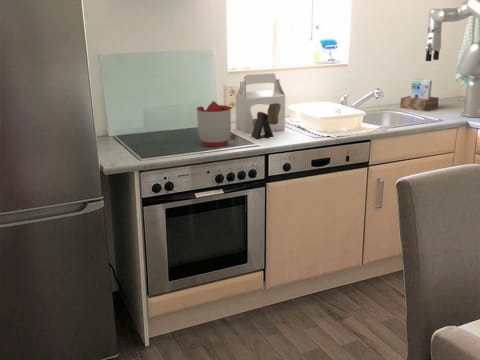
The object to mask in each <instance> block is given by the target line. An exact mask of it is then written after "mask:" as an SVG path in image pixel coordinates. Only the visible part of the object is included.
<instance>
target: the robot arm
mask: <svg viewBox="0 0 480 360" xmlns="http://www.w3.org/2000/svg"><path fill="white" fill-rule="evenodd" d="M460 5H461V6H459V7H448V8H447V7H445V8H430V10H429V11H428V12H429V13H428V26H427V39H426V46H425V62H432V60H433V61H438V60H439V58H440V50H441V49H442V30H443V29H442V27H443V23H447V22H448V23H453V22H454V23H455V22H459V21H462V20H465V19H468V18H470V17H472V16H475V18H477V19H478V20H479V21H480V0H465V1H463V2H462V3H461V4H460ZM467 48H468V49H467V50H466V51H465V53H464V55H463V56H462V58H461V60H460V62H459V64H458V73H459V75H460V76H462V77H464V78H468V79H467V81H466V88H465V89H466V90H465V99H464V105H463V111H461V112H460V116H462V117H464V118H465V117H467V118H480V41H475V42H473V43H471V45H470V46H468V47H467ZM432 53H433V56H432Z"/></svg>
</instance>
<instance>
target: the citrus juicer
mask: <svg viewBox="0 0 480 360" xmlns="http://www.w3.org/2000/svg"><path fill="white" fill-rule="evenodd" d="M231 110H232V107H231V106H229V105H225V104H224V105H223V104H218V103H217V102H216V101H214V100H213V101H211V102H210V103H209V105H208V106H207V108H206V109H205V107H203V106H201V105H200V106H197V107H196V111H197V112H196V115H197V116H196V117H197V118H196V119H197V131H198V132H197V133H198V136H199V140H200V142H201V145H203V146H205V145H206V146H205V147H209V146H214V147H223V146H226V145H228V142H229V140H230V136H231V126H232V125H231V124H232V121H231V117H232V116H231Z"/></svg>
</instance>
